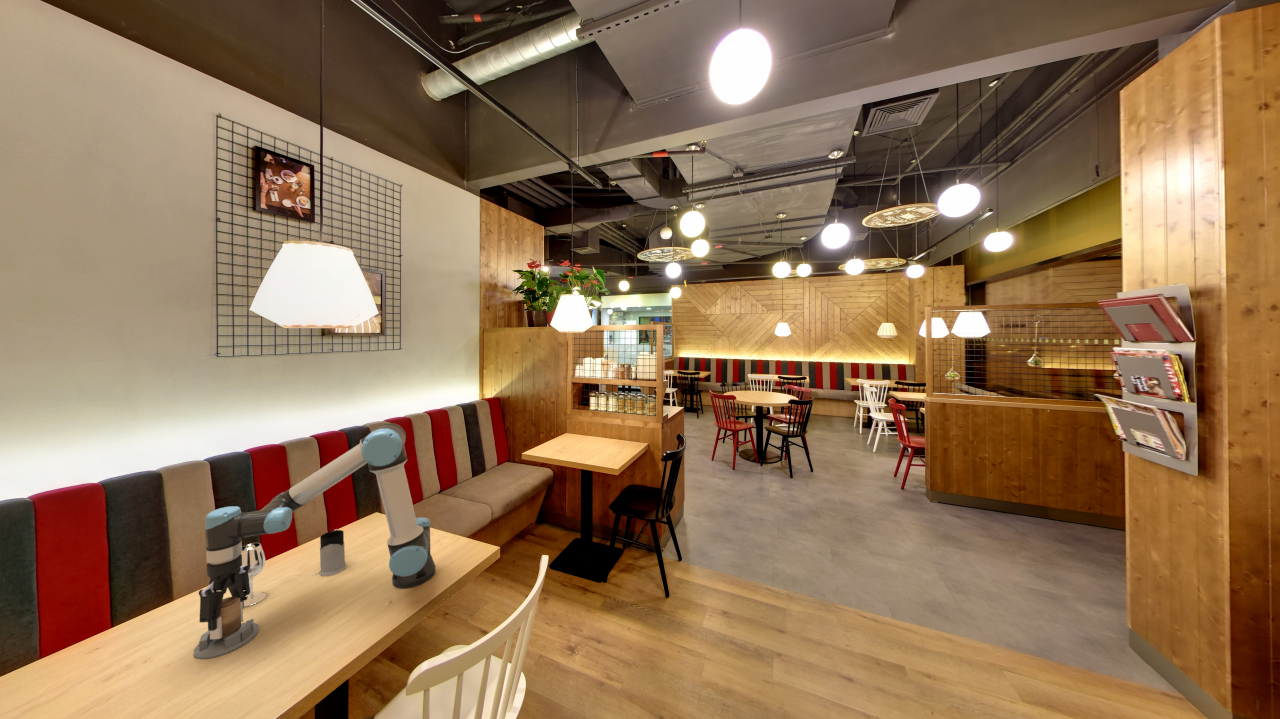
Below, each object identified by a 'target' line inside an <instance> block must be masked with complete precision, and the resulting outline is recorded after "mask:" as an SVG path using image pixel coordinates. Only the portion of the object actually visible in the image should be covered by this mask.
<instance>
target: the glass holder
mask: <svg viewBox="0 0 1280 719" xmlns="http://www.w3.org/2000/svg"><path fill="white" fill-rule="evenodd" d="M344 536H345V535H344V531H343V530H342V529H337V528H336V529H334V530H330V531H328V532H325V533H323V534H322V535H320V541H319V542H320V546H319V556H320V557H319V558H320V571H319V576H320V575H321V577H330V575H331V576H335V575H337V574H339V573H341V572H343V571H345V569H346V568H347V564H346V563H345V562H346V559H345V558H346V557H345V556H346V555H345V553H346V551H345V539H344Z"/></svg>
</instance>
